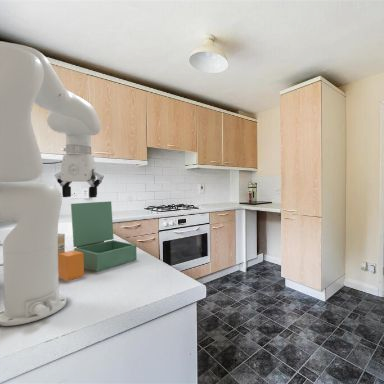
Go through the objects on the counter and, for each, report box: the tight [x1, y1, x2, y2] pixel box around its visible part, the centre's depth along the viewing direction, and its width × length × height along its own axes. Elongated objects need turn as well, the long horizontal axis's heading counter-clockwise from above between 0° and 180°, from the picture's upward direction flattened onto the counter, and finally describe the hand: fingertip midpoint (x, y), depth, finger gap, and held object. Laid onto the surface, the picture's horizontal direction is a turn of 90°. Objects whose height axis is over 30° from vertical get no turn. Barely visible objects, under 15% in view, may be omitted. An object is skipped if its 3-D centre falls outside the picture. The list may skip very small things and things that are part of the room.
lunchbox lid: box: [70, 200, 115, 248], centre depth 94 cm, size 16×15×4 cm
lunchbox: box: [73, 239, 137, 272], centre depth 90 cm, size 16×15×7 cm
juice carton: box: [58, 249, 85, 282], centre depth 76 cm, size 6×4×8 cm
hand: (79, 197), depth 87 cm, fingers open, 9 cm apart
